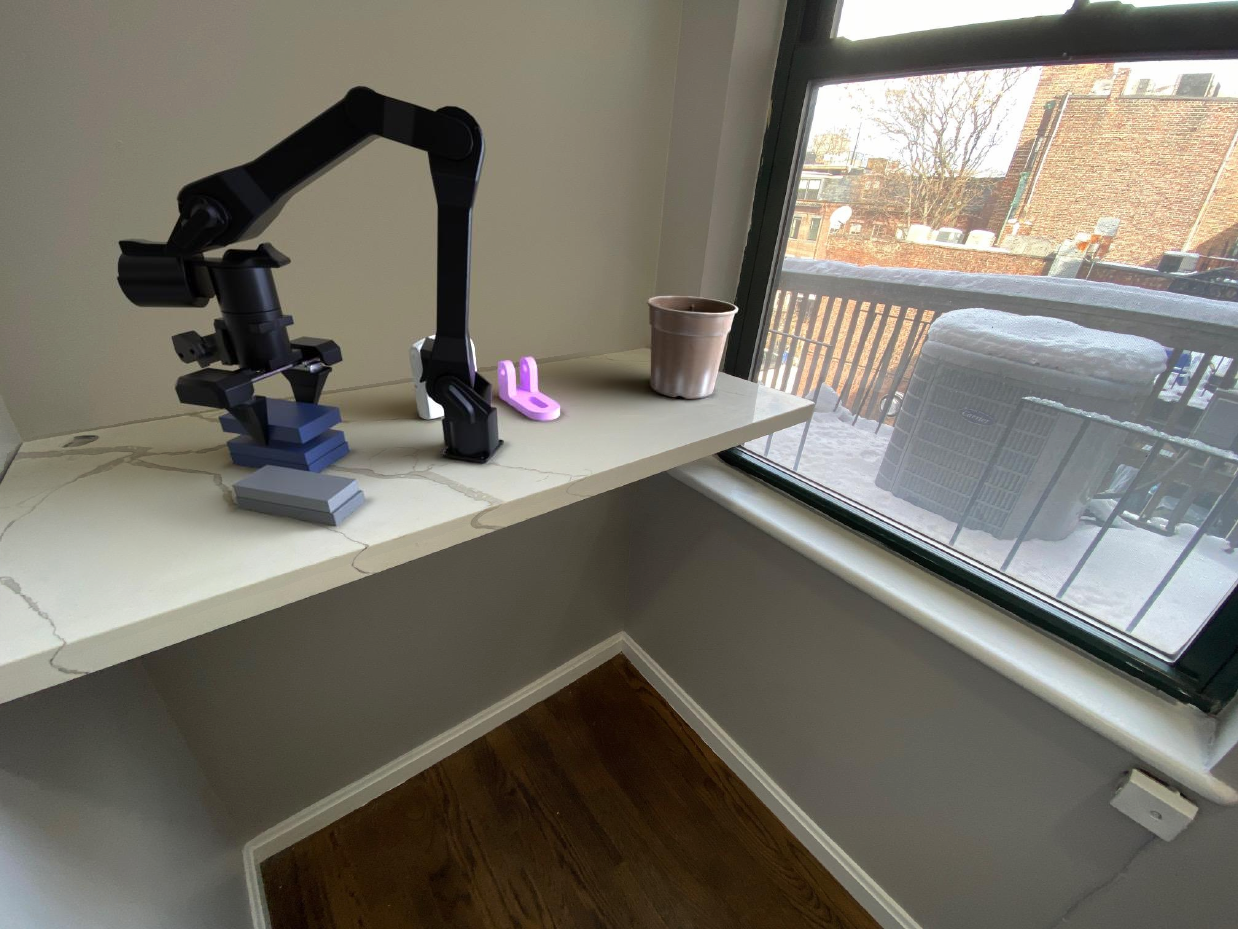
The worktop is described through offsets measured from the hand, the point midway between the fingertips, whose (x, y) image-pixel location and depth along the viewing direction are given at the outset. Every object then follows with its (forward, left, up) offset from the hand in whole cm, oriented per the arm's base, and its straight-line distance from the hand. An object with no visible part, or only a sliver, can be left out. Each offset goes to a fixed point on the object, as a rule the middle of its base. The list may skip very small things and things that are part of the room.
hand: (287, 433), depth 65 cm
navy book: (0, 0, +1) cm, 1 cm away
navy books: (0, 0, -4) cm, 4 cm away
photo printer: (-11, -21, -4) cm, 24 cm away
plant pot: (-47, -45, -4) cm, 65 cm away
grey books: (-9, +9, -4) cm, 13 cm away
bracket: (-23, -27, -4) cm, 36 cm away
